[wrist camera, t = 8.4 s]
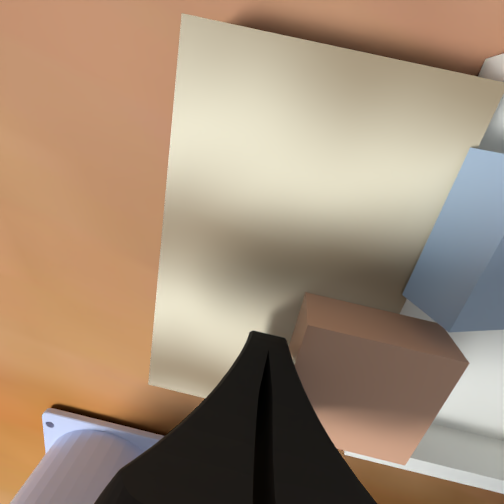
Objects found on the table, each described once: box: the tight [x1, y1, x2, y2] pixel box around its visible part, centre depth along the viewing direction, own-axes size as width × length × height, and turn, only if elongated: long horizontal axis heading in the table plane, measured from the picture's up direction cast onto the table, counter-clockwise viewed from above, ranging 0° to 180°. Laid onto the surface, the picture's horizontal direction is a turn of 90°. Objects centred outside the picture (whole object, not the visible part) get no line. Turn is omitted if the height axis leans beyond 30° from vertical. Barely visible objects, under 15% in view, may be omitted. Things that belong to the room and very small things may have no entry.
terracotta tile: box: [288, 292, 469, 465], centre depth 12 cm, size 5×5×2 cm
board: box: [148, 13, 504, 398], centre depth 13 cm, size 14×9×2 cm, turn 169°
